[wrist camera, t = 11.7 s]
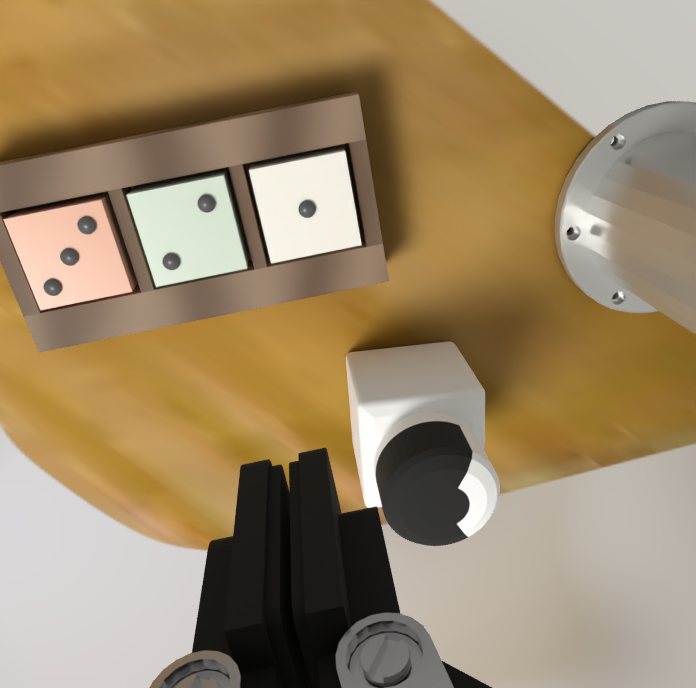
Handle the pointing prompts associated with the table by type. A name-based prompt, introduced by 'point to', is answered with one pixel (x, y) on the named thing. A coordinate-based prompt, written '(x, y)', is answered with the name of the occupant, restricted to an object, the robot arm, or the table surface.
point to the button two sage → (189, 227)
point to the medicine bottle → (422, 441)
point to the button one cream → (305, 204)
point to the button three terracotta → (72, 251)
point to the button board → (181, 161)
